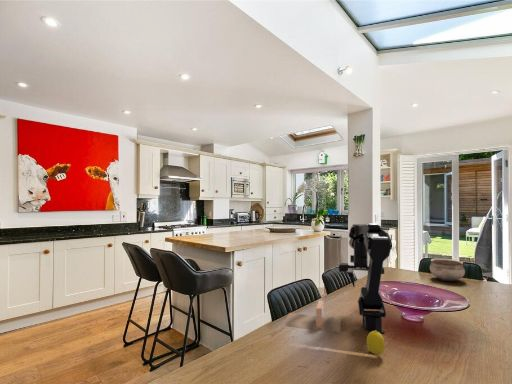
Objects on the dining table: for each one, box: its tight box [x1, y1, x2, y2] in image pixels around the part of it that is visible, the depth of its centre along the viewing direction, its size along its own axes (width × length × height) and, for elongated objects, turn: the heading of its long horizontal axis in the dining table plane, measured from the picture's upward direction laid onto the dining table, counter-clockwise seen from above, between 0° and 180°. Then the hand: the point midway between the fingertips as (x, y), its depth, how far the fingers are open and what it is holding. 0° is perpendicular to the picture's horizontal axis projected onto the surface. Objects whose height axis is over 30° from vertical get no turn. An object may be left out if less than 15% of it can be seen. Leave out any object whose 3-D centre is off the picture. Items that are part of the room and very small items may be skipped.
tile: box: [315, 299, 325, 328], centre depth 119 cm, size 2×10×8 cm, turn 163°
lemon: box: [366, 330, 386, 357], centre depth 95 cm, size 6×6×8 cm
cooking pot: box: [429, 258, 466, 283], centre depth 187 cm, size 25×19×12 cm
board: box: [282, 312, 342, 334], centre depth 120 cm, size 22×14×1 cm, turn 73°
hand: (361, 287), depth 129 cm, fingers open, 6 cm apart
